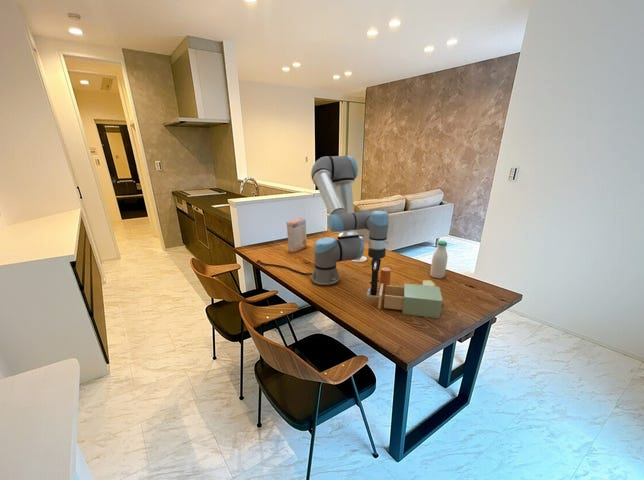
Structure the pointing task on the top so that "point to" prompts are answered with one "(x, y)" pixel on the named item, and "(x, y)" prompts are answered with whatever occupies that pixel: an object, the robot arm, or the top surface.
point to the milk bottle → (439, 261)
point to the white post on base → (362, 256)
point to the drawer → (390, 297)
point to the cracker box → (296, 235)
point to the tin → (385, 277)
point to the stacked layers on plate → (428, 283)
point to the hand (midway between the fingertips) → (373, 295)
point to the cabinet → (422, 300)
